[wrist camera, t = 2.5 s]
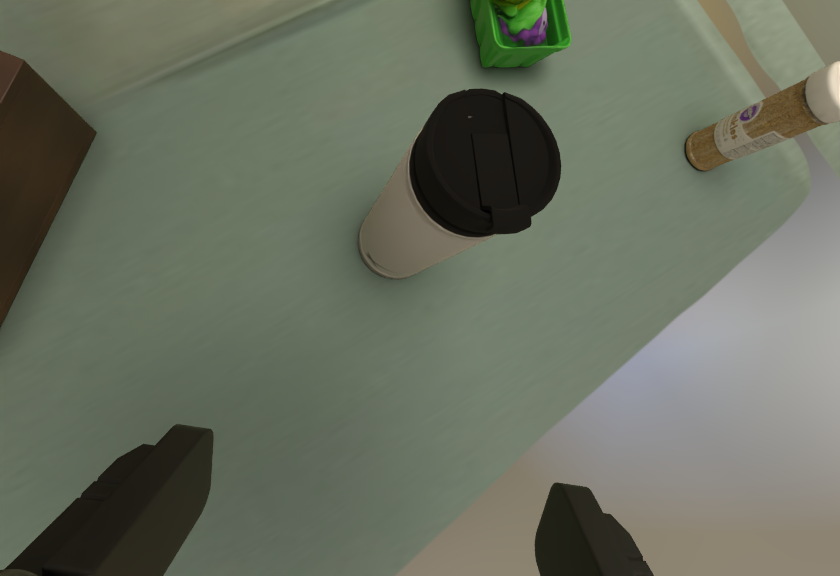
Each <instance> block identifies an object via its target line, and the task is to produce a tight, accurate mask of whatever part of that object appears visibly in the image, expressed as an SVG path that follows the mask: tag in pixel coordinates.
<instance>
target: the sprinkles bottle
mask: <svg viewBox="0 0 840 576" xmlns="http://www.w3.org/2000/svg"><path fill="white" fill-rule="evenodd" d="M837 121H840V61H838V62H836V63H833V64H831V65H829V66H826V67H824V68H822V69H820V70H818V71H816V72H814V73H813V74H811V76H809V77H807V78H806V79H805V80H803V81H801V82H799V83H797V84H795V85H793V86H791V87H789V88H787V89H784V90H783V91H780V92H779V93H777V94H775V95H772V96H770V97H769V98H766V99H764V100H762V101H760V102H758V103H756V104H753V105H751V106H748V107H746V108H744V109H742V110H740V111H738V112H736V113H734V114H732V115H730V116H728V117H726V118H724V119H722V120H720V121H719V122H717V123H715V124H713V125H711V126H709V127H707V128H705V129H703V130H700V131H696V132H694V133H693V134H692V135H691V136H690V137H689V139H688V140H687V143H686V153H687V157H688V159H689V160H690V162H691V164H692V165H693V166H695V167H696V168H697V169H699V170H703V171H708V170H711V169H713V168H714V167H716V166H718V165H721V164H724V163H726V162H729V161H731V160H734V159H738V158H741V157H743V156H746V155H749V154H751V153H754V152H756V151H759V150H761V149H764V148H767V147H769V146H772V145H774V144H777V143H779V142H782V141H784V140H787V139H790V138H792V137H794V136H795V135H798V134H801V133H803V132H806V131H808V130H811V129H813V128H816V127H818V126H821V125H826V124H829V123H834V122H837Z"/></svg>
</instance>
